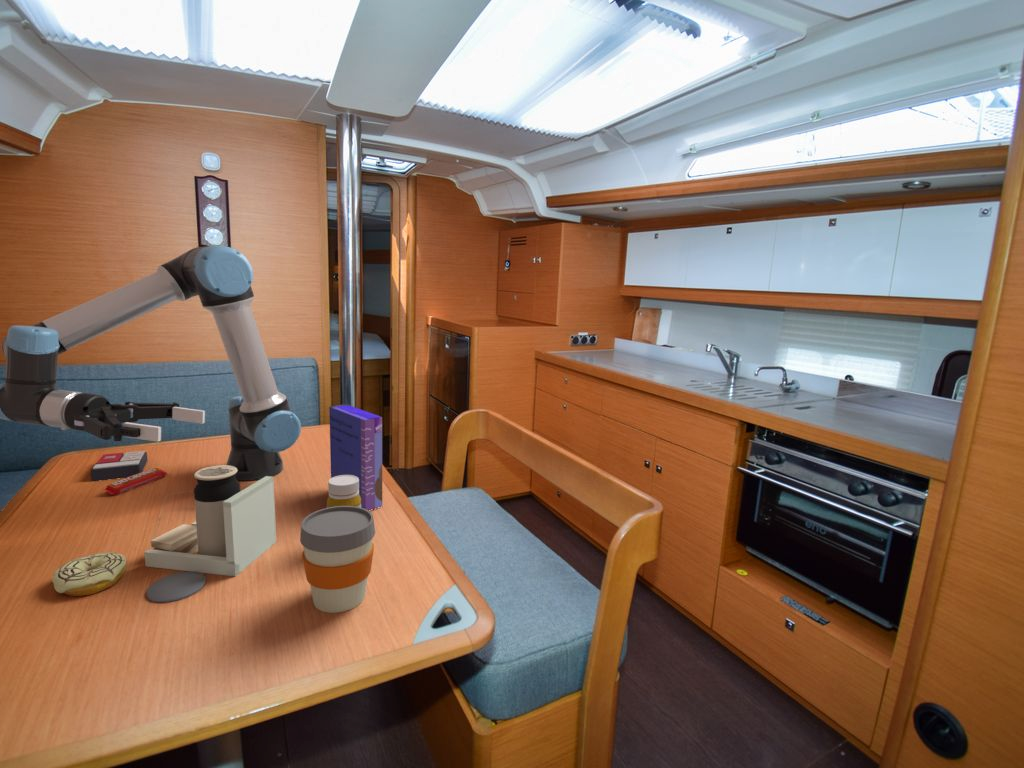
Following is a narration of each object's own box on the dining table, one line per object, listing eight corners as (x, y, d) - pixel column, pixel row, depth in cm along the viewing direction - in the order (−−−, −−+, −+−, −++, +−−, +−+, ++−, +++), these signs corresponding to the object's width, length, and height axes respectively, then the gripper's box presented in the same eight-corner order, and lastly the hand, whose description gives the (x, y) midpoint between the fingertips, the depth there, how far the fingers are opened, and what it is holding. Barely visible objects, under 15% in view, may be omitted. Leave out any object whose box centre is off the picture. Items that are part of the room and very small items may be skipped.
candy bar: (113, 498, 129) (111, 487, 128) (101, 496, 130) (100, 485, 129) (169, 476, 144) (169, 466, 143) (159, 475, 145) (158, 465, 144)
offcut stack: (147, 560, 101) (145, 543, 100) (185, 536, 111) (184, 520, 110) (178, 564, 100) (177, 546, 99) (214, 539, 110) (212, 523, 109)
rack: (145, 566, 99) (138, 493, 96) (196, 533, 112) (191, 469, 109) (235, 576, 97) (230, 502, 94) (276, 542, 110) (273, 476, 107)
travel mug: (230, 565, 100) (224, 479, 97) (190, 563, 100) (183, 477, 97) (250, 545, 108) (246, 465, 105) (213, 544, 108) (208, 463, 105)
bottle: (368, 541, 112) (367, 477, 110) (348, 556, 106) (347, 488, 103) (341, 535, 114) (340, 472, 112) (320, 549, 108) (318, 482, 105)
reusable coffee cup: (355, 624, 85) (354, 541, 82) (287, 613, 87) (283, 532, 84) (386, 583, 97) (386, 509, 94) (326, 574, 99) (324, 501, 96)
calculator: (146, 449, 155) (139, 462, 142) (148, 462, 156) (140, 476, 143) (101, 453, 150) (89, 467, 137) (102, 467, 151) (91, 482, 138)
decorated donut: (49, 607, 86) (46, 586, 85) (59, 576, 95) (56, 557, 94) (125, 588, 92) (123, 569, 91) (128, 561, 101) (126, 543, 100)
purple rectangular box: (382, 507, 130) (382, 416, 125) (365, 512, 126) (364, 419, 122) (347, 487, 141) (345, 403, 137) (331, 491, 138) (329, 405, 134)
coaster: (199, 568, 99) (199, 566, 99) (211, 589, 92) (211, 587, 92) (142, 585, 93) (142, 583, 93) (151, 609, 86) (151, 606, 86)
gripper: (125, 414, 115) (218, 427, 115) (18, 447, 91) (137, 462, 91) (125, 382, 114) (219, 395, 114) (17, 406, 89) (137, 422, 90)
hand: (183, 425), depth 102 cm, fingers open, 13 cm apart
